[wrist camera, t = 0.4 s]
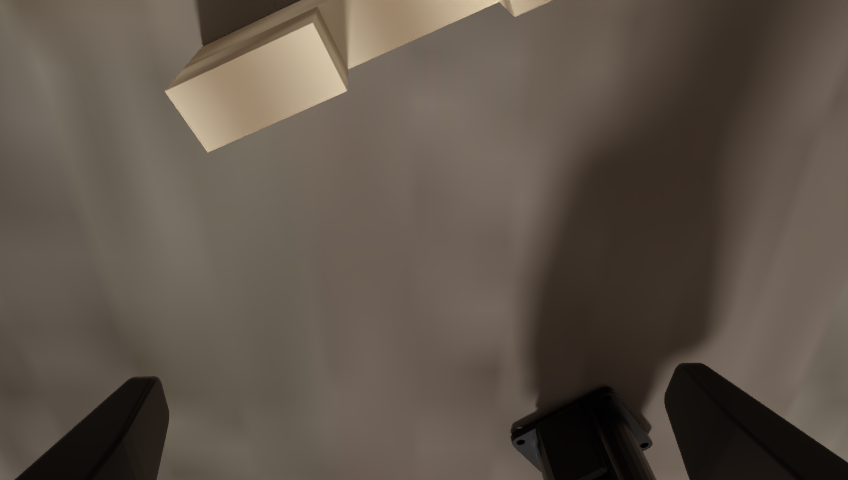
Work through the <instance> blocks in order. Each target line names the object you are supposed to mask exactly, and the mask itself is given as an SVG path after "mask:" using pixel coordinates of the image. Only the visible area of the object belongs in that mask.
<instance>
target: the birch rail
mask: <svg viewBox="0 0 848 480" xmlns="http://www.w3.org/2000/svg"><path fill="white" fill-rule="evenodd" d="M550 1H552V0H300V1H298V2H296V3H294V4H292V5H290V6H288V7H285V8H283V9H281V10H279V11H277V12H275V13H273V14H271V15H269V16H266V17H264V18H262V19H260V20H258V21H256V22H254V23H252V24H249V25H247V26H245V27H243V28H241V29H239V30H237V31H235V32H232V33H230V34H228V35H226V36H224V37H222V38H220V39H218V40H215V41H213V42H211V43H209V44H207V45H205V46H203V47H202V48H201V49H200V50H199V51H198V52H197V54H196V55H195V56H194V57H193V58H192V60H191V61H190V62H189V63H188V64H187V65H186V67H185V68H184V69H183V70H182V71H181V73H180V74H179V75H178V76H177V77H176V79H175V80H174V81H173V82H172V83H171V84H170V86H169V87H168V88H167V89H166V90H165V92H166V94H167V95H168V97H169V98H170V99H171V101H172V102H173V104H174V105H175V107H176V108H177V109H178V111H179V112H180V114H181V115H182V116H183V118H184V119H185V121H186V122H187V124H188V125H189V126H190V128H191V129H192V131H193V132H194V134H195V135H196V136H197V138H198V139H199V141H200V142H201V143H202V145H203V146H204V148H205V149H206V151H207V152H210V151H212V150H215V149H217V148H219V147H221V146H224V145H226V144H228V143H231V142H233V141H235V140H237V139H240V138H242V137H244V136H246V135H249V134H251V133H253V132H255V131H258V130H260V129H262V128H264V127H267V126H269V125H271V124H274V123H276V122H278V121H280V120H283V119H285V118H287V117H289V116H292V115H294V114H296V113H298V112H301V111H303V110H305V109H307V108H310V107H312V106H314V105H317V104H319V103H321V102H323V101H326V100H328V99H330V98H332V97H335V96H337V95H339V94H341V93H344V92H346V91H347V82H348V69H350V68H352V67H354V66H357V65H359V64H361V63H363V62H366V61H368V60H370V59H372V58H375V57H377V56H379V55H381V54H384V53H386V52H388V51H390V50H392V49H395V48H397V47H399V46H401V45H404V44H406V43H408V42H410V41H413V40H415V39H417V38H419V37H422V36H424V35H426V34H428V33H430V32H433V31H435V30H437V29H439V28H442V27H444V26H446V25H448V24H451V23H453V22H455V21H457V20H459V19H462V18H464V17H466V16H468V15H471V14H473V13H475V12H477V11H480V10H482V9H484V8H486V7H489V6H491V5H493V4H495V3H497V2H500V3H501V4H502V5H503V6H504V7H505V8H506V9H507V10H508V11H509V12H510V13H511V14H512V15H513V16H515V17H516V16H518V15H520V14H522V13H525V12H527V11H529V10H531V9H534V8H536V7H538V6H541V5H543V4H545V3H547V2H550Z"/></svg>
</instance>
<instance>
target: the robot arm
mask: <svg viewBox="0 0 848 480" xmlns="http://www.w3.org/2000/svg"><path fill="white" fill-rule="evenodd" d="M664 403H665V408H666V411H667V414H668V417H669V420H670V423H671V426H672V429H673V432H674V435H675V438H676V441H677V444H678V447H679V450H680V453H681V456H682V459H683V462H684V465H685V468H686V471H687V474H688V476H689V479H690V480H848V462H846V461H845V460H843V459H842V458H840V457H839V456H838V455H836V454H835V453H833V452H832V451H830V450H829V449H827V448H826V447H824V446H823V445H821V444H820V443H819V442H817V441H816V440H814V439H813V438H811V437H810V436H808V435H807V434H805V433H804V432H802V431H801V430H800V429H798V428H797V427H795V426H794V425H792V424H791V423H789V422H788V421H786V420H785V419H784V418H782V417H781V416H779V415H778V414H776V413H775V412H773V411H772V410H770V409H769V408H767V407H766V406H765V405H763V404H762V403H760V402H759V401H757V400H756V399H754V398H753V397H751V396H750V395H749V394H747V393H746V392H744V391H743V390H741V389H740V388H738V387H737V386H735V385H734V384H732V383H731V382H730V381H728V380H727V379H725V378H724V377H722V376H721V375H719V374H718V373H716V372H715V371H713V370H712V369H711V368H709V367H708V366H706V365H704V364H702V363H681V364H679V365H678V366H677V367H676V368H675V371H674V373H673V376H672V378H671V380H670V383H669V385H668V388H667V390H666V393H665V398H664ZM168 423H169V409H168V405H167V402H166V398H165V395H164V391H163V387H162V384H161V381H160V379H159V378H158V377H155V376H146V377H132V378H130V379H129V380H127V381H126V382H125V383H124V384H123V385H122V386H120V387H119V388H118V389H117V390H116V391H115V392H114V393H112V394H111V395H110V396H109V397H108V398H107V399H106V400H104V401H103V402H102V403H101V404H100V405H99V406H98V407H97V408H95V409H94V410H93V411H92V412H91V413H90V414H89V415H87V416H86V417H85V418H84V419H83V420H82V421H81V422H80V423H78V424H77V425H76V426H75V427H74V428H73V429H72V430H70V431H69V432H68V433H67V434H66V435H65V436H64V437H62V438H61V439H60V440H59V441H58V442H57V443H56V444H55V445H53V446H52V447H51V448H50V449H49V450H48V451H47V452H45V453H44V454H43V455H42V456H41V457H40V458H39V459H38V460H36V461H35V462H34V463H33V464H32V465H31V466H30V467H28V468H27V469H26V470H25V471H24V472H23V473H22V474H20V475H19V476H18V477H17V478H16V479H15V480H156V479H157V475H158V470H159V465H160V461H161V456H162V452H163V447H164V442H165V438H166V433H167V428H168ZM511 441H512V445H513V446H514V447H515V448H516V449H517V450H518V451H519V452H520V453H521V454H522V455H523V456H525V457H526V458H527V459H528V460H529V461H530V462H531V463H532V464H533V465H534V466H535V467H536V468H537V469H538V470H539V471H541V472H542V475H543V479H544V480H656V478H655V476H654V474H653V472H652V470H651V468H650V465H649V463H648V461H647V459H646V457H645V455H644V453H643V451H644V450H647V449H648V448H650V447H651V446H652V444H653V443H652V441H651V439H650V437H649V435H648V434H647V433H646V431H645V430H644V429H643V428H642V426H641V425H640V424H639V423H638V421H637V420H636V419H635V417H634V416H633V415H632V414H631V412H630V411H629V410H628V409H627V407H626V406H625V405H624V403H623V402H622V401H621V400H620V398H619V397H618V396H617V395H616V393H615V392H614V391H613V389H611V388H609V387H604V388H601V389H599V390H597V391H595V392H593V393H591V394H589V395H587V396H585V397H583V398H581V399H579V400H577V401H575V402H573V403H571V404H569V405H568V406H566V407H564V408H562V409H560V410H558V411H556V412H554V413H552V414H550V415H548V416H546V417H544V418H542V419H540V420H538V421H536V422H534V423H532V424H530V425H528V426H526V427H524V428H522V429H520V430H518V431H517V432H515V433H513V434H512V435H511Z"/></svg>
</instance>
